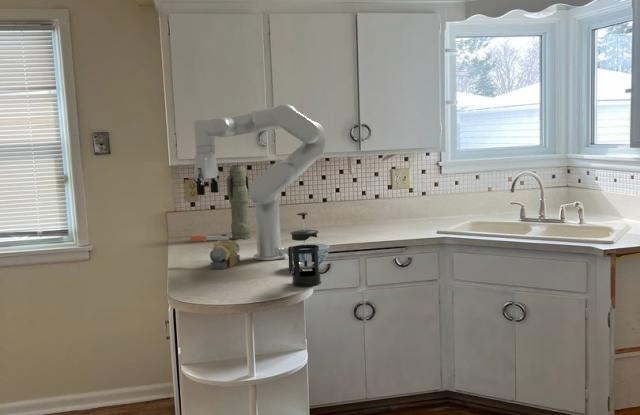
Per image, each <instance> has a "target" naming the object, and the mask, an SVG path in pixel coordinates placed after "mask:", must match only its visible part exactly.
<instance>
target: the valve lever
mask: <svg viewBox="0 0 640 415" xmlns="http://www.w3.org/2000/svg"><path fill="white" fill-rule="evenodd" d="M189 240H190V241H189V242H193V241H194V242H205V241H229V240H230V235H229V234H227V233H221V235H208V234H192V235H190V236H189Z"/></svg>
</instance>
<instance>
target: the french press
mask: <svg viewBox="0 0 640 415" xmlns="http://www.w3.org/2000/svg"><path fill="white" fill-rule="evenodd" d="M310 214H311V213H310V212H298V213H297V214H296V215H297V216H301V219H302V224H303V225H302V226H303V229H298V230H293V231H290V233H289V234H290V235H291V240H293V241H296V242H297V241H298V242H302V241H303V244H304V245H298V244H297V245H298V246H292V245H289V246H290V247H289V246H287V248H288V254H287V255H288V272H289V274H291V275H292V282H291V285H292V286H293V287H297V288H311V287H316V286H319V285H322V281H321V272H320V270H319V268H320V267H319V268H318V264H319V263H318V251H319V246H317V245H305V244H306V241H307V240H308V239H309V238H310V237H311V238H318V234H319V231H318V230H315V229H305V227H306V226H305V220H306V216H308V215H310ZM300 249H302V250H300ZM292 253H293V255H292ZM307 253H311V256H312V262H307V260H306V254H307ZM299 254H305V261H304V262H299ZM306 268H312V270H302V269H306Z"/></svg>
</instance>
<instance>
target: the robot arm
mask: <svg viewBox="0 0 640 415" xmlns="http://www.w3.org/2000/svg"><path fill="white" fill-rule="evenodd" d="M193 124H194V125H193V126H194V142H195V143H194V144H195V155H194V173H193V174H192V175H193V180H194V182H195V185H196V194H197V195H198V196H205V195H206V189H205V184H204V183H205V181H206V180H209V181H210V184H209V185H210V193H213V194H214V193H215V194H217V193H219V179H220V170H219V169H218V162H217V156H216V144H215V137H217V138H218V137H220V138H225V137H226V138H227V137H228V138H229V137H234V136H241V135H245V134H246V135H247V134H252V133H253V134H254V133H262V132H266V131H271V130H272V131H273V130H279V129H282V130H284V131H285V132H287V133H289V134H290V135H292V136H293V137H295V138H296V139H297V140H299V141H301V142H302V143H301V145H299V146H298V147H297V148H296V149H295V150H294V151H293V152H291V154H289V155H287V157H286V158H284V159H283V160H279V161H277V162H275V163H274V164H272V165H271V166H270V167H269V168H267V170H265V171H264V172H263V173H261V174H260V176H258V177H257V178H256V179H255V180H253V182H252V183H251V184H250V185H249V196H248V198H249V199H250V200H251V201H252V202H253V203H254V218H255V219H254V220H255V236H256V237H255V238H256V253H255V254H253V259H254V260H257V261H273V260H274V261H276V260H280V259H284V258H285V257H286V254H287V255H288V247H287V248H285V247H284V245H283V244H282V243H281V241H282V240H281V223H280V220H281V219H280V193H281V192H282V191H284V190H285V189H286V188H287V187H288V186H290V185H291V184H293V183H294V182H295V181H296V180H297V179H298V178H299V177H300V176H301V175H302V174H304V172H305V171H307V170H308V169H309V168H310V167H311V166H312V165H313V164H314V163H316V161H318V160H319V158H320V157H321V156H322V154H323V153H324V149H325V147H326V141H327V140H326V139H327V138H326V132H325V129H324V127H323V126H322V124H320V123H319V122H318V121H313V120H311V119H310V118H308V117H307V116H305V115H303V114H302V113H300V112H299V111H298V110H297V109H296V107H295V106H293V105H291V104H288V103H287V104H286V103H281V104H278V105H276V106H272V107H267V108H261V109H255V110H253V111H251V112H250V113H247V114H243V115H237V116H231V117H215V118H197V119H195V120H194V122H193Z"/></svg>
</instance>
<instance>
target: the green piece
mask: <svg viewBox="0 0 640 415" xmlns="http://www.w3.org/2000/svg"><path fill="white" fill-rule="evenodd" d="M229 168H230V169H229V171H228V172H229V173H228V174H229V175H228V176H227V178H226V190H227V197H228V198H229V203H230V210H231V225H230V229H231V231H230V232H231V236H232V238H233V239H232V238H231V239H232V240H234V239H243V240H247V239H246V238H249V239H251V224H250V221H249V205H248V204H249V188H250V177H249V175H248V174H246V168H245V166H244V165H243V164H236V165H235V164H234V165H231V166H230V167H229Z"/></svg>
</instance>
